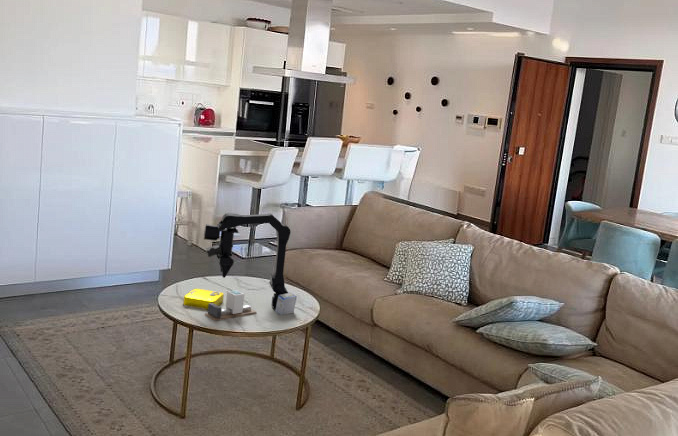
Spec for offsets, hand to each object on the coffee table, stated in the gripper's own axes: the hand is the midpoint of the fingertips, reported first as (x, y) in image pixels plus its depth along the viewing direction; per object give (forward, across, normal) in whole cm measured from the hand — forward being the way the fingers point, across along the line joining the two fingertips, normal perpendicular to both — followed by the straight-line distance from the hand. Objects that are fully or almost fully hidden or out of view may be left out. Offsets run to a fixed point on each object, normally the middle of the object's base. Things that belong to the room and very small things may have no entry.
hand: (222, 274), depth 313 cm
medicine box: (+14, +6, +29) cm, 33 cm away
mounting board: (+15, +11, +4) cm, 19 cm away
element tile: (+16, -3, -7) cm, 17 cm away
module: (+14, +11, +5) cm, 18 cm away
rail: (+14, +11, +4) cm, 19 cm away
